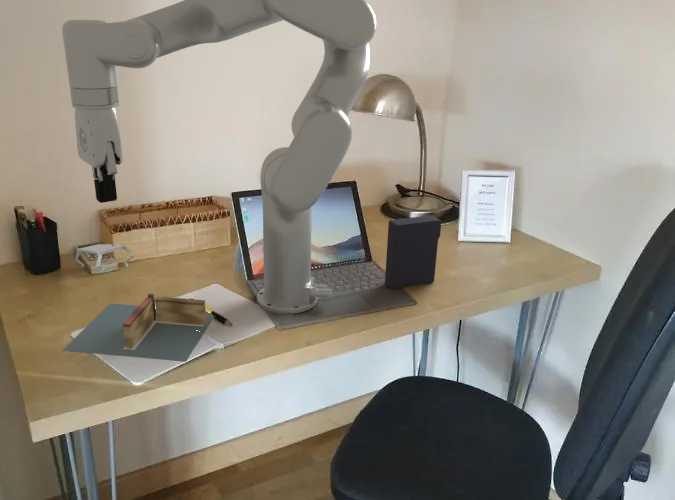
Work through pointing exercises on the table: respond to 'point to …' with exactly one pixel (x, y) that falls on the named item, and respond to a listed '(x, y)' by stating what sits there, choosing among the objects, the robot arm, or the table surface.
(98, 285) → the table surface
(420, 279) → the dark navy box
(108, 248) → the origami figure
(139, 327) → the fence gate
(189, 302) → the fence fixed
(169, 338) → the card
